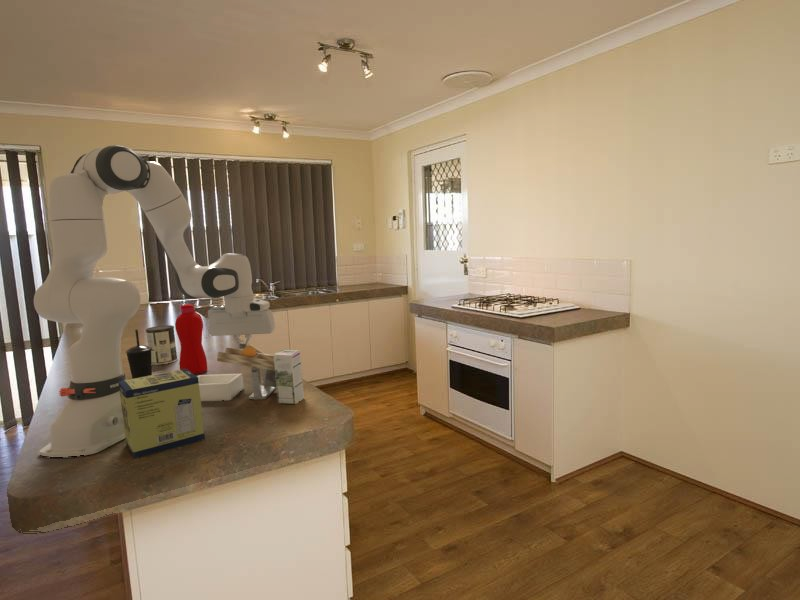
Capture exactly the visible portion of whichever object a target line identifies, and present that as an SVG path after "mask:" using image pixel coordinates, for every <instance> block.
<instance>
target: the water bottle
mask: <svg viewBox="0 0 800 600" xmlns="http://www.w3.org/2000/svg"><path fill="white" fill-rule="evenodd" d="M179 309H180V312H181V313H180V314H179V315H178V316H177V317H176V320H175V323H174V324H175V325H174V329H175V332H176V334H177V338H178V341H179V343H180V354H179V363H178V364H179V370H181V369H188V370H189V371H190V372H191V373H193V374H194V375H200V374H204V373H206V371H208V361H207V355H206V353H205V348H204V347H203V344H202V343H203V336H204V338H205V339H207V337H206V336H205V335H203V333H205V332H204V329H205V328H204V322H203V320H204V319H203V317H202V316H201V314H199V313H198V312H197V310H196V309H195V306H194V304H190V303H187V304H182V305H180V307H179ZM205 325H206V326H208V325H207V323H205ZM207 331H208V332H209V329H207Z"/></svg>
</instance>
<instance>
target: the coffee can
mask: <svg viewBox="0 0 800 600" xmlns="http://www.w3.org/2000/svg"><path fill="white" fill-rule="evenodd" d="M145 333H146V341H147V346H149V347H152V350H151V360H152V366H162V364H163V365H168V363H169V364H171V363H175V362H178V360H179V359H178V352H177V346H176V337H175V335H176V334H175V325H170V324H168V325H157V326H152V327H148V328H145Z"/></svg>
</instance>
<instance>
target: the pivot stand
mask: <svg viewBox="0 0 800 600" xmlns="http://www.w3.org/2000/svg"><path fill="white" fill-rule="evenodd" d="M260 369H261V370H262V380H263V381H261V371H260ZM250 371H251V379H252V390H253V392H252V393H251V394H250V395H249V396H248V400H249V399H254V400H266V399H268V397H269V396H270V395H271V394H272V393H273V392H274V391H275V390H277V388H276V387H271V386H265V379H266V371H267V369H262V368H257V367H255V366H254V367H251V370H250ZM262 382H263V385H262Z"/></svg>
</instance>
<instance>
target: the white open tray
mask: <svg viewBox="0 0 800 600" xmlns="http://www.w3.org/2000/svg"><path fill="white" fill-rule="evenodd" d="M243 375H244V374H243V373H221V374H217V373H216V374H197V375H196V376H197V377H198V381H199V390H200V398H201V402H217V401H218V402H219V401H222V400H224V401H231V400H233V399H234V398H235V397H236V396H237V395H239V393H241V392H242V391H243V390H244V389H245V387H244V378H243V377H244V376H243ZM240 391H241V392H240ZM233 397H234V398H233Z"/></svg>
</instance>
